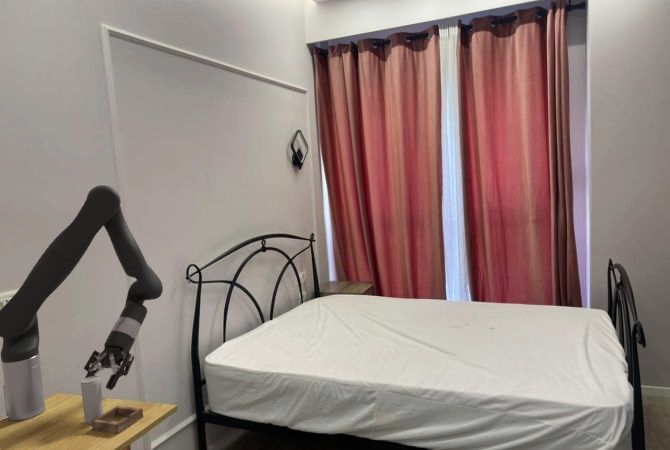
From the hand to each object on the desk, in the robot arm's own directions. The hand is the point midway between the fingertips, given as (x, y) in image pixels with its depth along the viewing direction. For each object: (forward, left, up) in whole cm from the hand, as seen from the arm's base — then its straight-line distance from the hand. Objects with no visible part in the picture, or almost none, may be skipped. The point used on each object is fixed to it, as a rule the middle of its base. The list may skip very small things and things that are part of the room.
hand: (97, 387), depth 132 cm
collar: (+8, -2, -9) cm, 12 cm away
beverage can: (0, -2, -9) cm, 9 cm away
